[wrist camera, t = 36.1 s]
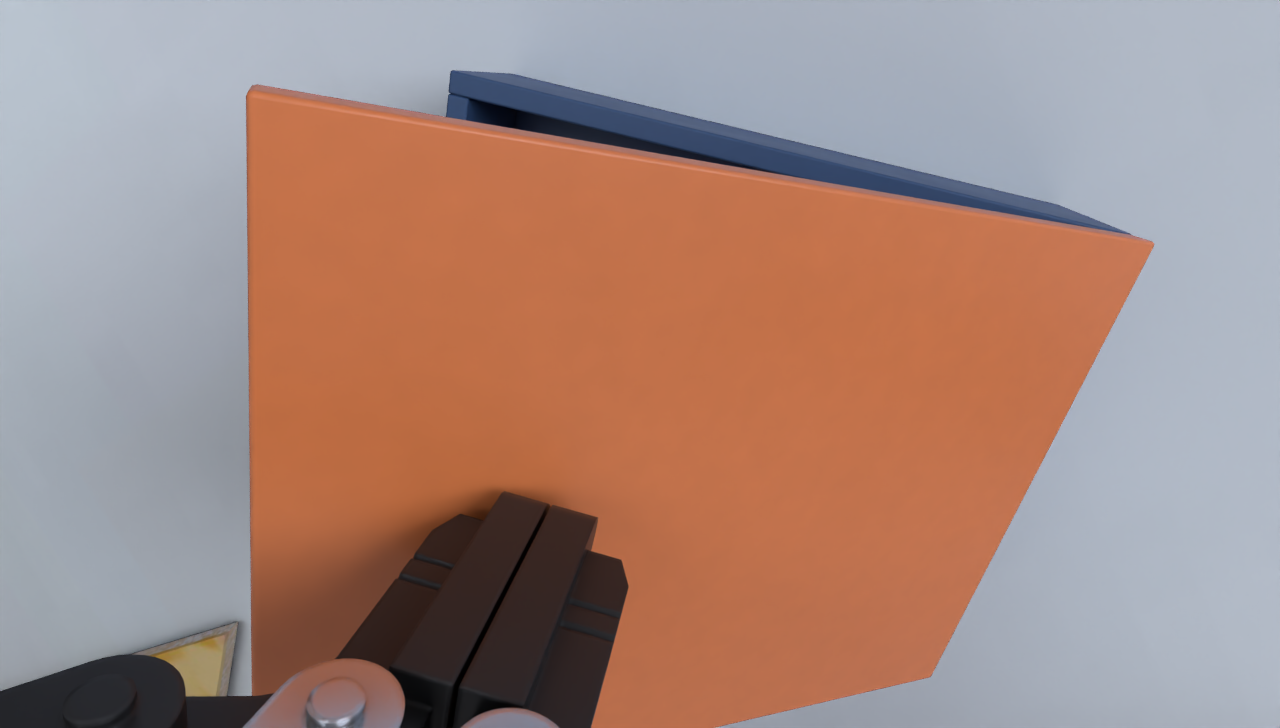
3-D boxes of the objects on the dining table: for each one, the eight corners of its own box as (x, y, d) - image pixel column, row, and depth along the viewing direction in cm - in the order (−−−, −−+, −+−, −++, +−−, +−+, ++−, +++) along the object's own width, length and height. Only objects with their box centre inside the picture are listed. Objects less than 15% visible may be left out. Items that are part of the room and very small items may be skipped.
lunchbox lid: (255, 803, 12) (252, 837, 12) (249, 82, 8) (246, 89, 7) (915, 660, 19) (931, 678, 19) (1128, 233, 14) (1157, 242, 14)
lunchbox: (461, 444, 24) (406, 509, 20) (510, 73, 19) (449, 69, 16) (896, 567, 23) (920, 659, 19) (1060, 205, 18) (1134, 234, 14)
